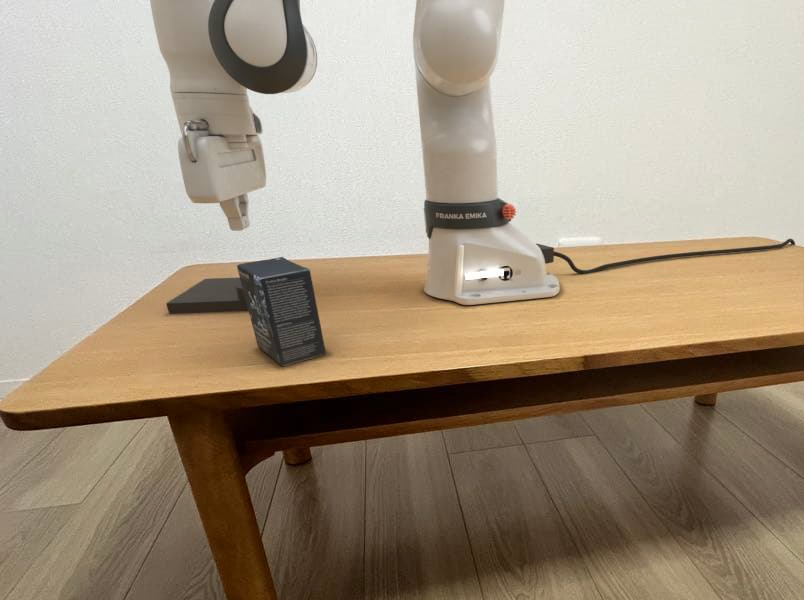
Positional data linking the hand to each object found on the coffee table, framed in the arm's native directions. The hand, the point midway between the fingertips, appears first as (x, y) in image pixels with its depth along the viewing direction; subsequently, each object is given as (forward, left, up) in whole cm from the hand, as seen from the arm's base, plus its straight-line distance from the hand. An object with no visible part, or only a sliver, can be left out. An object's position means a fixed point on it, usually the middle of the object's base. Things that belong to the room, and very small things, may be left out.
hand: (240, 228), depth 77 cm
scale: (+4, -5, -12) cm, 13 cm away
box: (-10, +20, -12) cm, 25 cm away
